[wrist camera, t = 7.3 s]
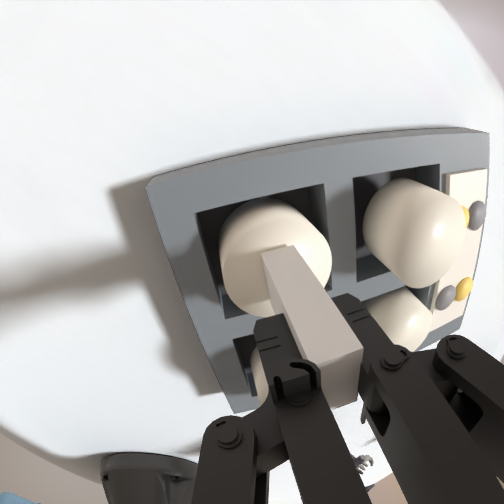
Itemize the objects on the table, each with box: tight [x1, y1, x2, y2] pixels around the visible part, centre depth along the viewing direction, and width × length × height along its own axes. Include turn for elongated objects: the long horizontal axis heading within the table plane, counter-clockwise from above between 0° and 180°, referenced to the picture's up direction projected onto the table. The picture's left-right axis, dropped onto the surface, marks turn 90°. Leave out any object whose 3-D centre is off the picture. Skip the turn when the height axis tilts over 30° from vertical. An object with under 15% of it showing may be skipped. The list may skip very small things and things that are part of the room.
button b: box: [218, 198, 332, 317], centre depth 15 cm, size 5×5×3 cm
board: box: [145, 128, 489, 414], centre depth 18 cm, size 22×18×3 cm
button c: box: [361, 286, 432, 352], centre depth 19 cm, size 5×5×3 cm
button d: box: [362, 178, 466, 288], centre depth 14 cm, size 5×5×3 cm
